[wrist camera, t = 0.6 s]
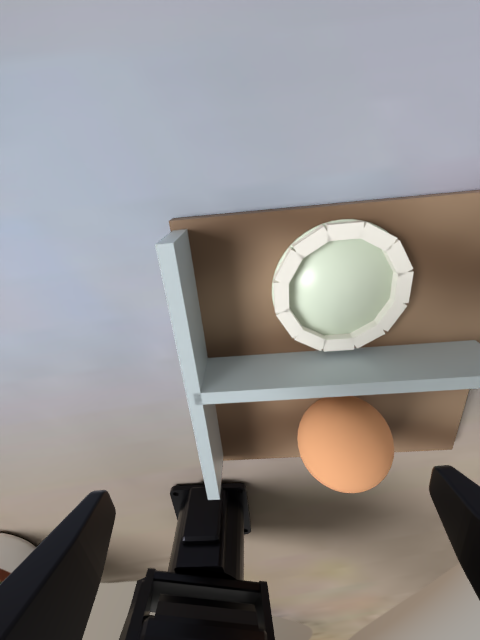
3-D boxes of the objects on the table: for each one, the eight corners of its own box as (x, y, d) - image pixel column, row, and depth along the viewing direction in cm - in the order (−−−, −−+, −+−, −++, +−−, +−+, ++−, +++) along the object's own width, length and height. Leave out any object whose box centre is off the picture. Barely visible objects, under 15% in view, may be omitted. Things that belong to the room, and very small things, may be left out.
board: (444, 438, 24) (484, 493, 20) (213, 450, 25) (207, 504, 21) (511, 186, 16) (600, 192, 12) (172, 218, 17) (150, 233, 13)
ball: (369, 436, 23) (404, 513, 18) (292, 441, 23) (305, 516, 18) (376, 373, 20) (420, 441, 15) (291, 379, 21) (305, 447, 15)
